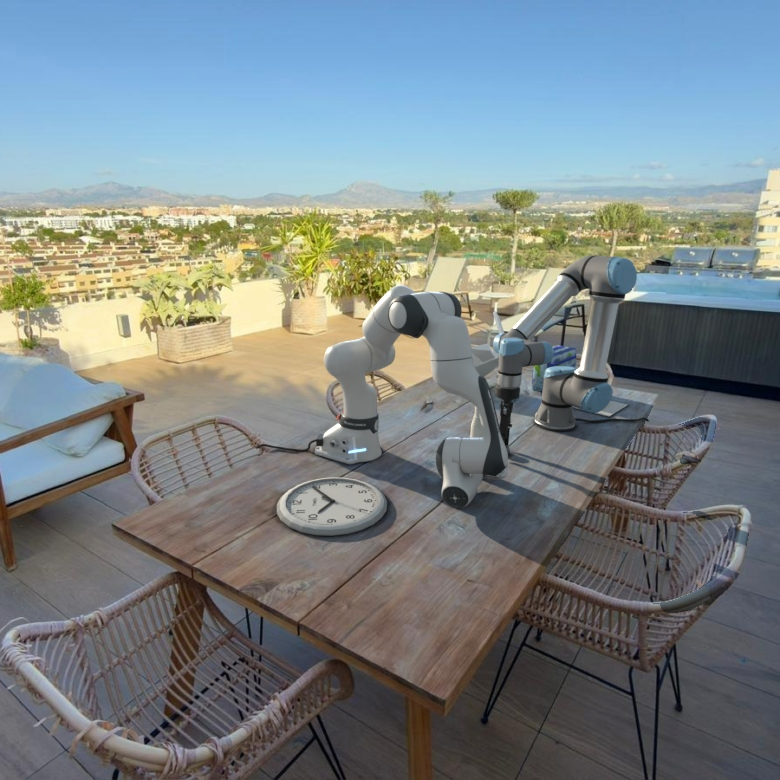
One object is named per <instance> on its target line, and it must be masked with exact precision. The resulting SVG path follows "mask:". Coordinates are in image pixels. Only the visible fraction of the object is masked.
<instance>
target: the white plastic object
mask: <svg viewBox="0 0 780 780" xmlns="http://www.w3.org/2000/svg"><path fill="white" fill-rule="evenodd" d="M492 315H493V319H494V321H495V324H496V325H495V326H496V328H497V332H498V334H501V333H505V331H504V328H503V325H502V321H501V318H500V315H499V314H498V312H497V311H496V310H495V311H492ZM471 348H472V357H473V363H474V366H475V369H476V371H477V372H478V374H479V375H480V376H482V377H484V378H485V377H486V376H487V375H489V374H490V373H492V372H494V371H495V370H496V369H497V368H498V366H499V354H498V353H497V352H495V351H494V349H493V347H491V346H490V344H489V343H488V342H487V343H483V344H479V345H473V346H471ZM520 387H521V389H522V391H523V393H524V395H525V396H526V397H528V396H531V395H530V390H529V388H528V387H529V386H528V384H527V381H526V378H525V375H524V371H523V370H522V377H521V386H520Z"/></svg>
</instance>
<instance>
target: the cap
mask: <svg viewBox="0 0 780 780" xmlns="http://www.w3.org/2000/svg"><path fill="white" fill-rule="evenodd" d="M506 449H507V453H508V456H510V453H511V452H510V451H511V449H510V447H509V445H508V446H507V448H506Z"/></svg>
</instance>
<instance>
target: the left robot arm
mask: <svg viewBox="0 0 780 780" xmlns="http://www.w3.org/2000/svg"><path fill="white" fill-rule="evenodd" d="M462 311H463V310H462V304H461V302H460V300H459V298H458V297H457V296H456V295H455V294H453V293H451V292H447V291H422V292H415V291H414V289H412V288H410V287H409V286H406V285H403V284H399V285H398V284H397V285H394V286H393V287H391V288H390V289H389V290H388V291H387V292H386V293H384V295H382V297H380V299H379V300H378V301H377V303H376V304H374V306H373V308H372V309H371V310H370V312H369V314H368V315H367V316H366V317H365V319H364V321H363V323H362V325H361V326H362V327H361V329H362V330H361V331H362V335H363V336H362V337H360V338H358V339H352V340H346V341H341V342H338V343H336V344H333V345H331V346H328V347H327V349H326V350H325V352H324V355H323V364H324V368H325V370H326V371H327V373H328V374H329V375H330V376H332V377H333V378H334V379H335V380H337V382H338V383H339V385H340V388H341V391H342V392H341V393H342V402H343V404H342V405H343V410H342V411H341V412H340V413H339V414H338V415H337V416H336V421H338V422H337V423H336V424H334V425H333V426H331V427H330V428H329V429H327V430H326V431H325V432H324V433H318V435H317V436H316V438H315V439H313V440H310V442H309V443H308V445H307V448H303V449H298V448H291V447H290V448H289V447H283V446H278V445H271V444H266V443H261V444H259V445H257V446H256V447H255V449H260V448H262V447H267V448H271V449H278V450H283V451H290V452H307V451H309V450H310V449H311V445H312V444H313V443H315V444H316V447H315V448H314V454H315V455H317V456H320V457H324V458H326V459H329V460H334V461H337V462H340V463H343V464H347V465H354V464H357V463H363V462H364V463H365V462H371V461H374V460H376V459H378V458H380V457H381V456H382V454H383V453H382V452H383V451H382V448H381V445H380V438H379V427H380V419H379V417H380V416H379V412H378V391H377V389H376V388H375V387H374V386H373V385H371V384H370V383H368V382H367V379H366V374H368V373H373V372H376V371H381V370H383V369H385V368H387V367H389V366H390V365H392V364H393V363H394V361H395V358H396V348H395V345H394V344H395V342H396V341H397V340H398V339H399V337H400V336H401V335H404V336H408V337H411V338H414V339H420V338H421V337H424V338H425V339H426V340H427V342H428V346H429V347H428V348H429V363H430V371H431V376H432V379H433V381H434V383H435V384H436V385H437V386H438V387H439V388H440V389H442V390H444V391H445V392H447V393H449V394H452V395H455V396H457V397H461V398H463V399H465V400H468V401H469V402H470V403H472V404H473V405H474V407H475V406H476V408H477V410H478V413H479V417H480V421H481V425H482V429H483V433H484V437H470V436H467V437H466V436H465V437H464V436H447V437H445V438H443V440H442V441H441V442H440V444H439V445H438V447H437V449H436V453H435V463H436V464H435V465H436V466H435V467H436V469H437V472H438V477H439V478H440V479H441V480H442V487H441V498H442V500H443V502H444V503H445V504H446V505H447V506H448V507H451V508H455V509H460V508H461V509H462V508H465V507H467V506H469V504H470V503H472V501H473V500H474V498H475V497H476V494H477V492H478V490H479V487H480V486H481V483H482V482H483V479H489V480H496V481H500V480H503V479H505V478H506V477H507V473H508V469H509V462H508V461H509V455H508V453H507V449H506V446H505V443H504V440H503V437H502V434H501V430H500V422H499V419H498V414H497V410H496V406H495V402H494V399H493V395H492V391H491V387H490V385H489V382H488V381H487V378H485V377H482V376H480V375H479V374H478V372H477V371H476V369H475V366H474V363H473V357H472V348H471V347H472V342H471V337H470V332H469V329H468V325H467V322H466V321H465V320H464V319H463V318H462Z"/></svg>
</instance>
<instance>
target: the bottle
mask: <svg viewBox="0 0 780 780" xmlns="http://www.w3.org/2000/svg"><path fill="white" fill-rule="evenodd" d="M471 421H472V422H471V424H470V435H469V437H484V433H483V429H482V425H481V421H480V417H479V413H478V410H477V408H476V406H475V405H474V414H473V417H472V420H471Z"/></svg>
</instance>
